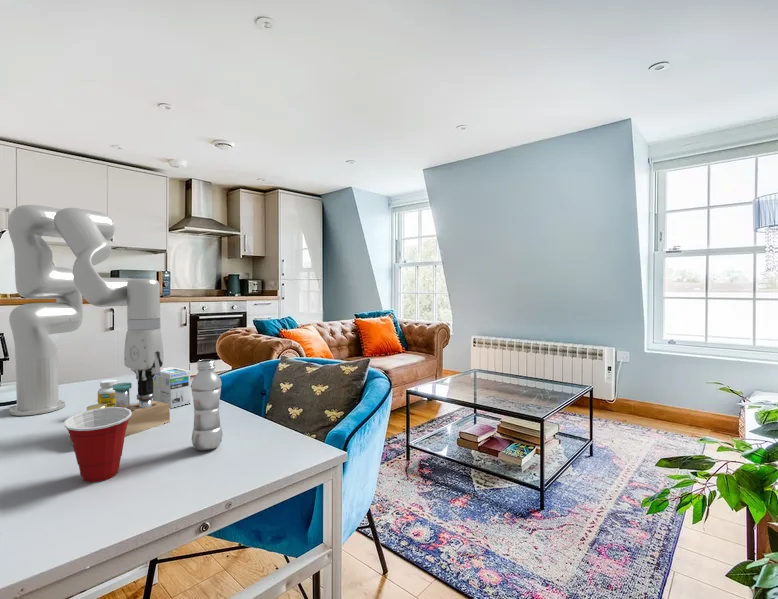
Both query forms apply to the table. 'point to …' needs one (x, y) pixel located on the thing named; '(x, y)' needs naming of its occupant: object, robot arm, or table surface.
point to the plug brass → (96, 406)
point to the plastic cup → (98, 441)
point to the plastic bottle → (206, 406)
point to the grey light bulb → (145, 400)
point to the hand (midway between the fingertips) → (145, 394)
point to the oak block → (146, 417)
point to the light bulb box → (172, 386)
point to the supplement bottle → (107, 393)
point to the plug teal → (122, 395)
